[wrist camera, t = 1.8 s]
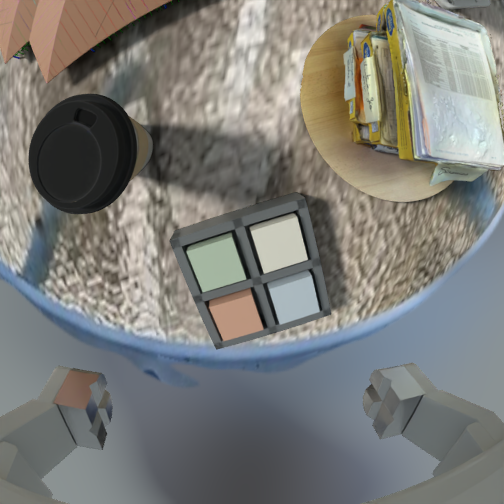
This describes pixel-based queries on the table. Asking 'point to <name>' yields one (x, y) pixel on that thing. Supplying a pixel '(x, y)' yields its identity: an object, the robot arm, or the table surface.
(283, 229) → the key cream
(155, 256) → the table surface
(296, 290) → the key bluegrey
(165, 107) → the table surface
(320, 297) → the keypad
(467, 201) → the table surface
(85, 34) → the house
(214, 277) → the key sage
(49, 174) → the coffee cup
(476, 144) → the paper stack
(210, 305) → the key terracotta
